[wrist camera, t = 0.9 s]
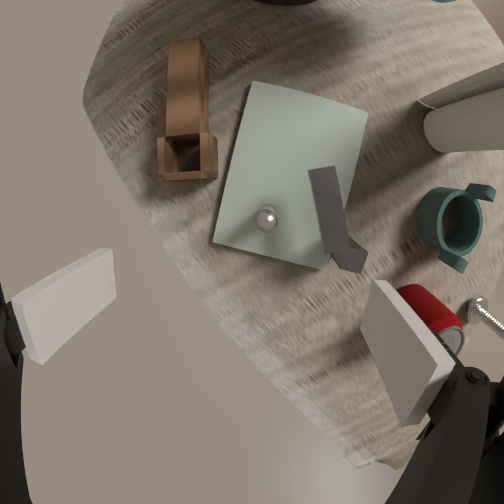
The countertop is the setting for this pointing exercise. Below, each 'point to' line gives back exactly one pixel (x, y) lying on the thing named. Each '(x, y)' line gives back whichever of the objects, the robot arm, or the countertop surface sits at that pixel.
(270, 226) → the cylinder
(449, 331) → the beverage can
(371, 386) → the countertop surface
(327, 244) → the keeper
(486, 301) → the screw
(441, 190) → the teal hollow cylinder
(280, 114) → the base board
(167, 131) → the link
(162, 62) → the countertop surface
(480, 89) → the paper towel roll
